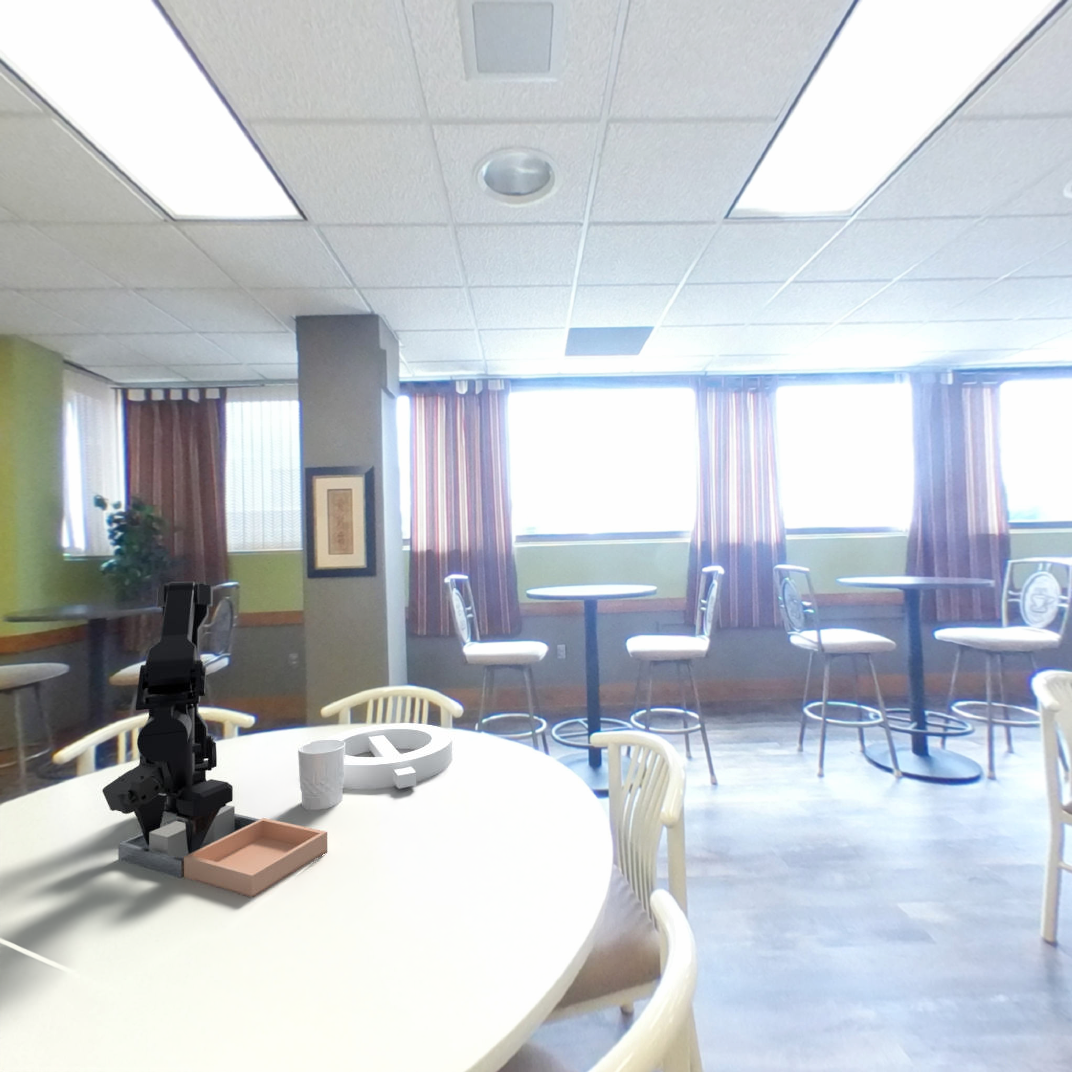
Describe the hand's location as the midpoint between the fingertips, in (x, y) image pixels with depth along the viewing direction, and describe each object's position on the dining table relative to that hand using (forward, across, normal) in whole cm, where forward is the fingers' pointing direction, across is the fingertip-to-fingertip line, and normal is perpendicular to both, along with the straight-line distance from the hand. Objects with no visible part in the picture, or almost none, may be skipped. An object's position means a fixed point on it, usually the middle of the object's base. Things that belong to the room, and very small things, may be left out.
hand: (172, 849), depth 87 cm
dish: (+1, +14, +3) cm, 14 cm away
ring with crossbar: (+2, +3, +44) cm, 45 cm away
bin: (+1, 0, +3) cm, 4 cm away
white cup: (+2, +6, +23) cm, 24 cm away
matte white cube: (+1, 0, 0) cm, 1 cm away
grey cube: (+1, 0, +7) cm, 7 cm away
